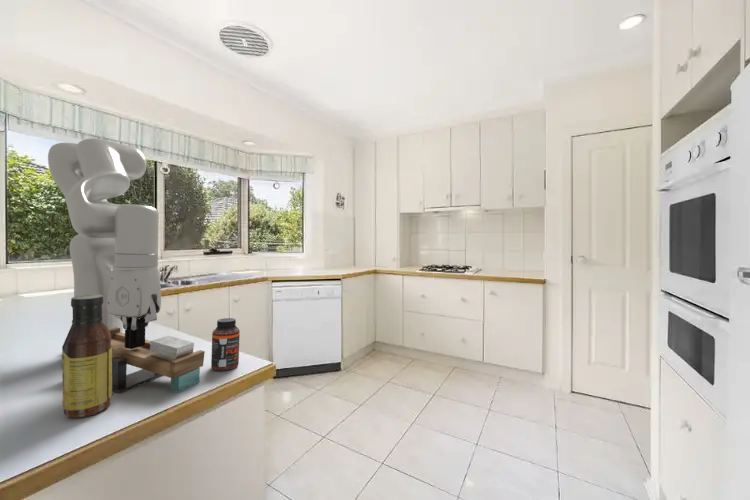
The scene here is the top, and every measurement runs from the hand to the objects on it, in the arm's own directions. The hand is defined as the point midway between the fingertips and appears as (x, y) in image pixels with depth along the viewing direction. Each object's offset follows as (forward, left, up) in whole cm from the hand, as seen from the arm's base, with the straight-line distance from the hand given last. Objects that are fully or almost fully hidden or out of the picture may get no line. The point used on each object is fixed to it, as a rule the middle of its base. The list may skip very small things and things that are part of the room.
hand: (135, 346), depth 67 cm
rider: (+10, 0, -2) cm, 10 cm away
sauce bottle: (+7, -13, -7) cm, 16 cm away
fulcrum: (+2, 0, -7) cm, 7 cm away
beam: (+2, 0, -5) cm, 5 cm away
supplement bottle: (+14, +11, -7) cm, 19 cm away
